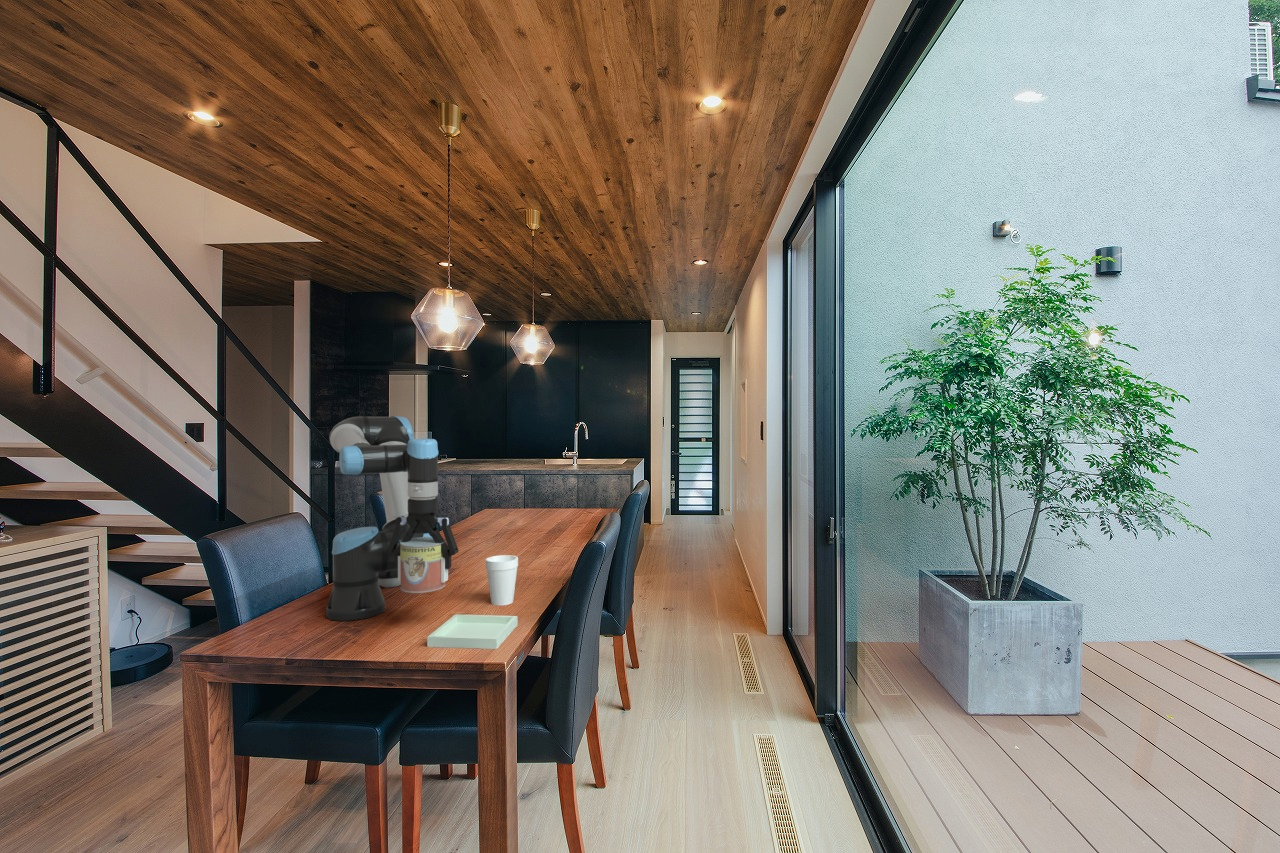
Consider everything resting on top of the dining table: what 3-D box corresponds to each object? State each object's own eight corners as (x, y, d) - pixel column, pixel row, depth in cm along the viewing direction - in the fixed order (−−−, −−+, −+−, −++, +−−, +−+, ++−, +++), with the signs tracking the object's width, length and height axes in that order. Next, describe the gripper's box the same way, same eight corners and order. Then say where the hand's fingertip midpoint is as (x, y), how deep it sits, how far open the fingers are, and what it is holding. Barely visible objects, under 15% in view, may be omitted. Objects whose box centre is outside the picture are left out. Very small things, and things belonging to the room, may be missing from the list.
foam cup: (499, 609, 177) (499, 563, 177) (479, 603, 182) (478, 559, 182) (525, 601, 184) (524, 557, 184) (504, 595, 190) (504, 553, 190)
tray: (427, 646, 148) (427, 636, 148) (455, 623, 165) (455, 614, 165) (496, 649, 146) (496, 639, 146) (517, 625, 163) (517, 616, 163)
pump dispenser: (401, 589, 197) (400, 542, 197) (369, 589, 197) (368, 542, 197) (413, 581, 207) (413, 536, 207) (382, 581, 208) (382, 536, 207)
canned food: (392, 592, 158) (392, 545, 157) (411, 580, 169) (410, 536, 169) (436, 593, 157) (436, 546, 157) (451, 580, 169) (451, 537, 168)
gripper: (372, 498, 160) (373, 582, 161) (460, 500, 158) (460, 586, 158) (387, 494, 167) (387, 574, 168) (471, 496, 165) (471, 577, 166)
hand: (423, 580), depth 163 cm, fingers closed on canned food, 11 cm apart
